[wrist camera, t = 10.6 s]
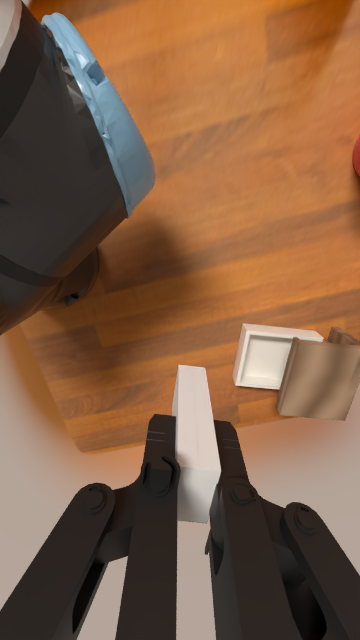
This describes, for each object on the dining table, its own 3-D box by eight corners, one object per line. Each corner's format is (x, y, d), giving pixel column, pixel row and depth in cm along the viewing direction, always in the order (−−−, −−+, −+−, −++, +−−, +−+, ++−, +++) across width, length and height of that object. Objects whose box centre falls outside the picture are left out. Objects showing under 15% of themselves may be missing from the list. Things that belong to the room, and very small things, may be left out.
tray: (232, 375, 48) (235, 385, 45) (242, 323, 44) (246, 330, 41) (299, 382, 48) (306, 392, 45) (314, 330, 44) (323, 338, 41)
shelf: (265, 384, 48) (279, 415, 41) (279, 322, 44) (299, 343, 36) (320, 389, 48) (344, 420, 41) (340, 328, 44) (371, 350, 37)
